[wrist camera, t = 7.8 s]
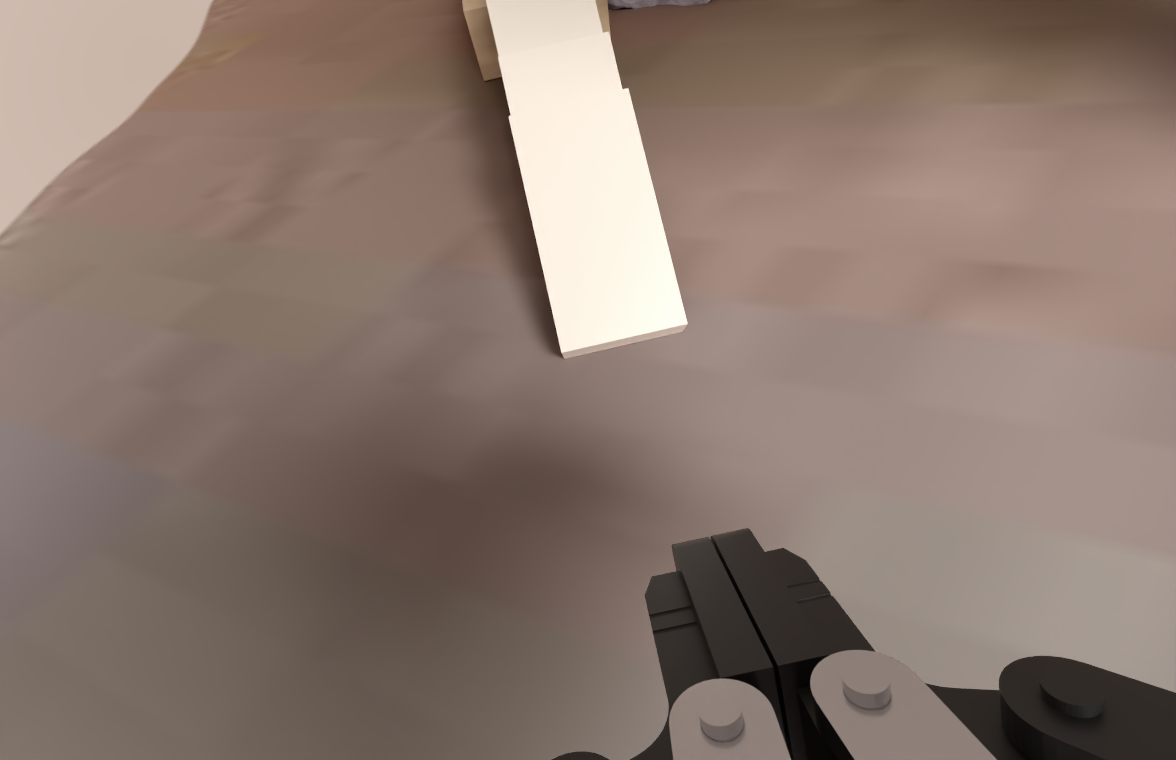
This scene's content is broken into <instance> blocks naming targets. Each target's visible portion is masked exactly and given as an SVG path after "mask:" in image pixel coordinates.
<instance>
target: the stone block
mask: <svg viewBox="0 0 1176 760" xmlns="http://www.w3.org/2000/svg"><path fill="white" fill-rule="evenodd" d="M710 1H711V0H607V2H608V8H610V9H612V10H614V9H619V8H623V7H627V8H628V7H632V8H633V9H636V8H641V7H649V6H655V5H660V4H672V5H683V6H686V5H704V4H707V3H708V2H710Z"/></svg>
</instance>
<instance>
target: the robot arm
mask: <svg viewBox="0 0 1176 760" xmlns="http://www.w3.org/2000/svg"><path fill="white" fill-rule="evenodd" d="M672 550H673V556H674V561H675V566H676V572H671V573H667V574H662V575H658V576H653V577H652V578H651V580H650V583H649V586H648V588H647V591H646V594H645V599H646V603H647V608H648V612H649V617H650V621H651V626H652V630H653V635H654V639H655V644H656V648H657V653H658V657H659V662H660V666H661V671H662V675H663V680H664V684H665V688H666V693H667V697H668V702H669V714H668V718H667V722H666V724H665V726H664V729H663V731H662V732H661V734H660V735H659V737H658V738H657V739H656V740H655V741H654V743H653V744H652V745H651V746H649V747H648V748H647V749H646V750H645V751H643V752H642V753H640V754H639V755H637V756H636V757H634V758H632V759H630V760H1176V693H1174V692H1171V691H1168V690H1165V689H1162V688H1159V687H1156V686H1153V685H1150V684H1147V683H1144V682H1141V681H1138V680H1135V679H1132V678H1128V677H1125V676H1122V675H1119V674H1116V673H1113V672H1110V671H1107V670H1104V669H1101V668H1098V667H1095V666H1092V665H1089V664H1086V663H1082V662H1079V661H1075V660H1071V659H1066V658H1061V657H1052V656H1034V657H1026V658H1022V659H1019V660H1016V661H1014V662H1012V663H1010V664H1009V665H1008V666H1006V667H1005V668H1004V670H1003V671H1002V672H1001V675H1000V678H999V690H980V689H961V688H947V687H940V686H935V685H930V684H926V683H924V682H923V681H922V680H921V679H920V678H919V676H918V675H917V674H916V673H915V672H913V671H912V670H911V669H910V668H909V667H908V666H906V665H905V664H903V663H902V662H900V661H898V660H896V659H894V658H892V657H890V656H887V655H885V654H881V653H877V652H875V651H874V649H873V648H872V647H871V645H870V644H869V643H868V641H867V640H866V639H865V637H864V636H863V635H862V633H861V632H860V631H859V630H858V628H857V627H856V626H855V624H854V623H853V622H852V620H851V619H850V618H849V616H848V615H847V614H846V613H845V611H844V610H843V609H842V607H841V606H840V605H839V603H838V602H837V601H836V599H835V598H834V597H833V596H831V594H830V592H829V590H828V589H827V588H826V586H825V585H824V584H823V582H822V581H821V582H820V580H819V577H818V576H817V575H816V573H815V572H814V571H813V569H812V568H811V567H810V565H809V564H808V563H807V562H806V560H804V559H802V558H800V557H799V556H797V555H795V554H793V553H791V552H790V551H788V550H786V549H784V548H781V549H777V550H772V551H767V552H764V550H763V549H762V547H761V546H760V544H759V543H758V541H757V540H756V538H755V537H754V535H753V534H752V532H751V531H750V529H749V528H746V529H741V530H737V531H732V532H728V533H723V534H718V535H714V536H711V540H710V538H709V537H705V538H701V539H696V540H692V541H687V542H682V543H678V544H673V545H672ZM552 760H609V759H607V758H605V757H603V756H601V755H599V754H596V753H591V752H573V753H567V754H564V755H561V756H558V757H556V758H554V759H552Z"/></svg>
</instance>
